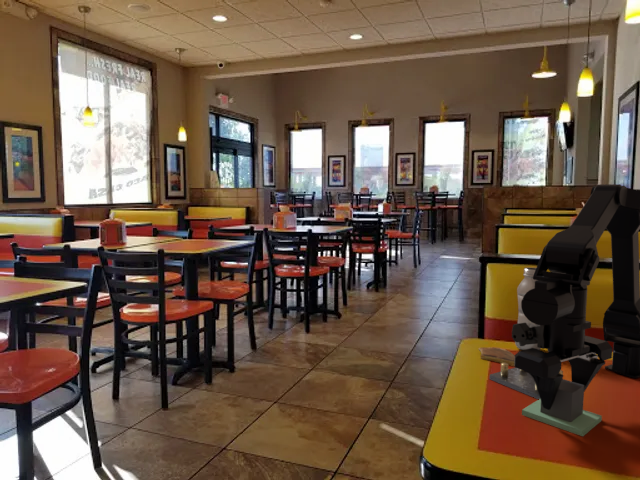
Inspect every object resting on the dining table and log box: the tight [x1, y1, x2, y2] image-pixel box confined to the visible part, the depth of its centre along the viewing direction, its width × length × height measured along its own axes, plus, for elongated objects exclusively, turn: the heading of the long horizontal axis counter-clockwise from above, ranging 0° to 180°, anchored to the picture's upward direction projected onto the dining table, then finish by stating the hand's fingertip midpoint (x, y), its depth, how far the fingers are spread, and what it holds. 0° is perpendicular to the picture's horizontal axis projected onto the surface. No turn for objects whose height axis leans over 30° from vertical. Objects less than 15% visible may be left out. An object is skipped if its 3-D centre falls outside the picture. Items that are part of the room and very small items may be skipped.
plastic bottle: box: [514, 267, 542, 351], centre depth 119 cm, size 6×7×20 cm
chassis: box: [488, 363, 564, 400], centre depth 98 cm, size 10×12×4 cm
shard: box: [478, 346, 515, 368], centre depth 112 cm, size 11×8×2 cm
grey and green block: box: [521, 378, 603, 437], centre depth 84 cm, size 8×10×6 cm
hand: (561, 403), depth 84 cm, fingers open, 8 cm apart
